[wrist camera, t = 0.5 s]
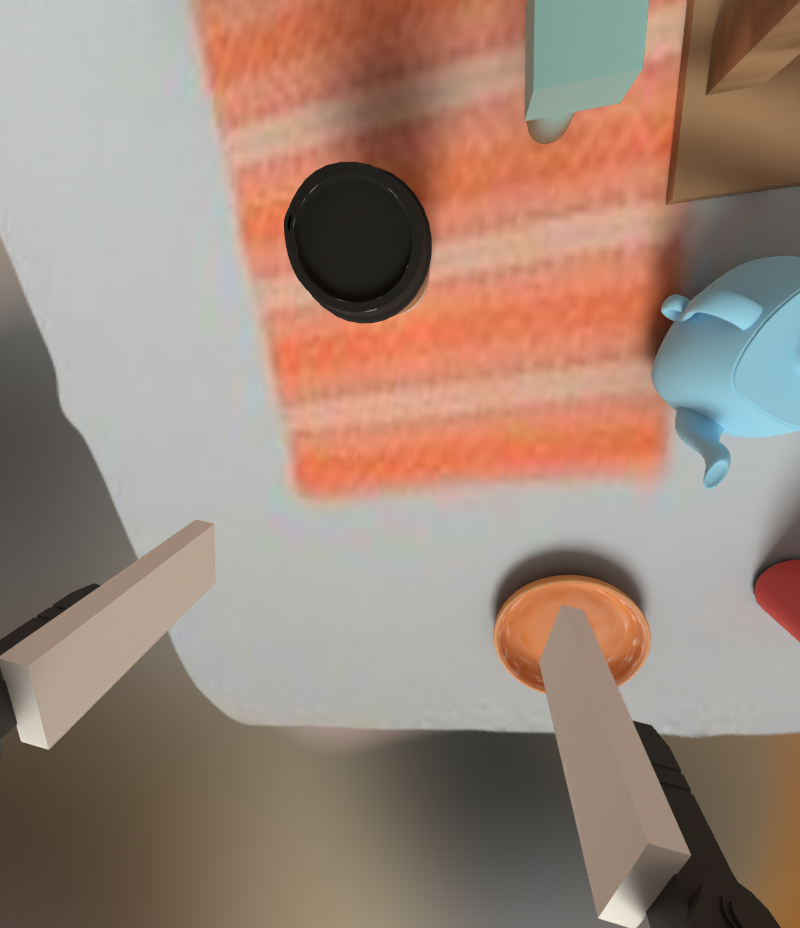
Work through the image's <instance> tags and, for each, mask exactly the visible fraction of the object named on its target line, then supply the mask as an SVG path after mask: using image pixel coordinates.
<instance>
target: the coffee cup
mask: <svg viewBox="0 0 800 928" xmlns="http://www.w3.org/2000/svg"><path fill="white" fill-rule="evenodd" d="M284 233H285V241H286V248H287V252H288V257H289V260H290V263H291V266H292V268H293V270H294V272H295V274H296V276H297V278H298V280H299V281H300V282H301V283H302V285H303V286H304V287H305V288H306V289H307V290H308V291H309V292H310V294H311V295H312V296H313V298H314V299H315V300H316V301H317V302H318V303H319V304H320V305H322V306H323V307H324V308H325V309H327V310H328V311H330V312H331V313H333V314H334V315H336V316H337V317H340V318H342V319H344V320H347V321H350V322H356V323H375V322H379V321H383V320H386V319H388V318H390V317H392V316H394V315H397V314H402V313H406V312H408V311H410V310H412V309H413V308H415V307H416V306H417V305H418V304H419V303H420V302H421V300H422V299H423V297H424V295H425V293H426V290H427V287H428V273H429V265H430V260H431V249H432V238H431V232H430V226H429V222H428V219H427V216H426V214H425V211H424V208H423V206H422V205H421V203H420V202H419V200H418V198H417V197H416V195H415V193H414V192H413V191H412V190H411V189H410V188H409V187H408V186H407V185H406V184H405V183H404V182H403V181H402V180H400V179H399V178H398V177H396V176H395V175H393V174H392V173H390V172H387V171H385V170H382V169H380V168H377V167H373V166H371V165H368V164H363V163H358V162H339V163H335V164H330V165H327V166H325V167H323V168H321V169H318V170H316V171H315V172H314V173H312V174H311V175H310V176H309V177H308V178H307V179H306V180H305V181H304V182H303V183H302V185H301V186H300V187H299V189H298V190H297V192H296V194H295V196H294V197H293V199H292V201H291V204H290V206H289V208H288V210H287V213H286V216H285V219H284Z"/></svg>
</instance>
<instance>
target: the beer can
mask: <svg viewBox="0 0 800 928" xmlns="http://www.w3.org/2000/svg"><path fill="white" fill-rule="evenodd" d="M754 594H755V597H756V601H757V603H758V604H759V605H760V606H761V607H762V609H763V610H765V611H766V612H767V613H768V614H769V615H770V616H771V617H772V618H773V619H775V620H776V621H777V622H778V623H779V624H780V625H781V626H782V627H783V628H785V629H786V630H787V631H788V632H789V633H790V634H791V635H792V636H793V637H795V638H796V639H797V640H798V641H799V642H800V560H788V561H784V562H780V563H777V564H775V565H773V566H771V567H770V568H768V569H767V570H766V571H764V572H763V573H762V574H761V575H760V577H759V578H758V580H757V582H756V584H755V590H754Z"/></svg>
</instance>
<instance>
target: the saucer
mask: <svg viewBox="0 0 800 928" xmlns="http://www.w3.org/2000/svg"><path fill="white" fill-rule="evenodd" d="M561 605H565V606H570V607H574V608H578V609H583V610H584V612H585V614H586V616H587V618H588V621H589V623H590V625H591V628H592V630H593V632H594V634H595V637H596V639H597V641H598V644H599V646H600V648H601V650H602V653H603V655H604V657H605V660H606V662H607V664H608V666H609V669H610V671H611V673H612V676H613V678H614V680H615V682H616V685H617V687H619V686H621V685H622V684H624V683H625V682H627V681H628V680H629V679H630V678H632V677H633V676H634V675H635V674H636V673H637V672H638V670H639V669H640V668H641V667H642V665H643V664H644V662H645V660H646V658H647V656H648V653H649V649H650V644H651V634H650V628H649V625H648V622H647V620H646V618H645V616H644V614H643V613H642V611H641V610H640V608H639V607H638V606H637V605H636V604H635V603H634V602H633V600H632V599H631V598H629V597H628V596H627V595H626V594H625V593H624V592H622V591H621V590H619V589H618V588H616V587H614V586H613V585H611V584H609V583H606V582H604V581H601V580H598V579H595V578H591V577H586V576H579V575H559V576H552V577H547V578H543V579H539V580H537V581H534V582H532V583H529V584H527V585H525V586H524V587H522V588H520V589H519V590H517V591H516V592H515V593H514V594H512V595H511V596H510V597H509V598H508V599H507V600H506V602H505V603H504V604H503V606H502V607H501V609H500V611H499V613H498V615H497V618H496V621H495V626H494V645H495V649H496V652H497V655H498V657H499V659H500V661H501V663H502V664H503V666H504V667H505V668H506V670H507V671H508V672H509V673H510V674H511V675H512V676H513V677H514V678H515V679H517V680H518V681H519V682H521V683H522V684H524V685H526V686H527V687H529V688H531V689H534V690H536V691H539V692H541V693H544V694H546V691H545V686H544V682H543V678H542V673H541V669H540V665H539V662H540V659H541V656H542V654H543V651H544V649H545V646H546V643H547V641H548V638H549V636H550V633H551V630H552V628H553V625H554V623H555V620H556V617H557V615H558V612H559V610H560V607H561Z"/></svg>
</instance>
